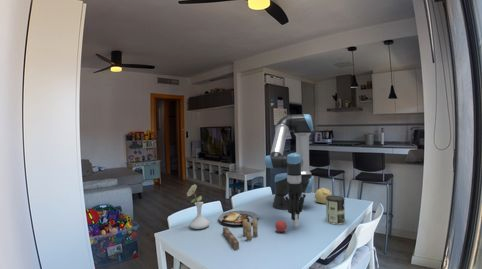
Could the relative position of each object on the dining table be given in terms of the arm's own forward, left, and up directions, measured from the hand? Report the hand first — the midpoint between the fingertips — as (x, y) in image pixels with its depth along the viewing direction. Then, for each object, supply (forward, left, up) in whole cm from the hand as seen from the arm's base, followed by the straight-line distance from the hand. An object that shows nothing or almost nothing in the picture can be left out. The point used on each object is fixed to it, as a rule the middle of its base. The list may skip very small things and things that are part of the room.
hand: (295, 225), depth 139 cm
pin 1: (-3, -28, -2) cm, 28 cm away
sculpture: (-34, +45, -2) cm, 57 cm away
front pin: (0, -24, -2) cm, 24 cm away
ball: (0, -9, +1) cm, 9 cm away
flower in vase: (-24, -49, -2) cm, 54 cm away
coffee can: (-1, +28, -2) cm, 28 cm away
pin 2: (+2, -28, -2) cm, 28 cm away
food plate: (-26, -24, -3) cm, 35 cm away
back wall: (0, -37, -2) cm, 37 cm away
